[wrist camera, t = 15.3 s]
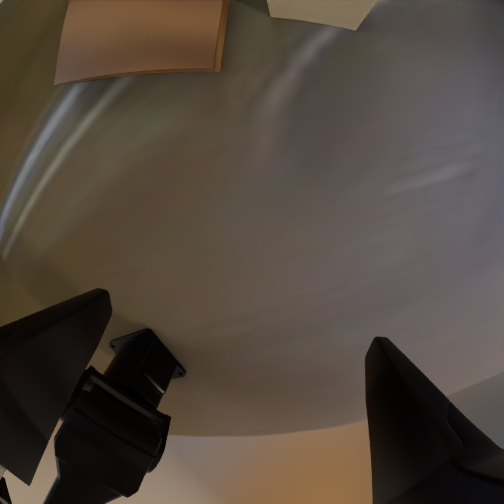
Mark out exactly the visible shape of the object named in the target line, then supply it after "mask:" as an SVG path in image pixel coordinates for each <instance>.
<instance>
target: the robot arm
mask: <svg viewBox="0 0 504 504" xmlns="http://www.w3.org/2000/svg"><path fill="white" fill-rule="evenodd" d="M111 315H112V305H111V300H110V295H109V292H108V291H107V290H104V289H100V288H96V289H94V290H91V291H89V292H86V293H84V294H81V295H79V296H76V297H74V298H71V299H68V300H66V301H63V302H61V303H58V304H56V305H53V306H51V307H48V308H46V309H43V310H41V311H39V312H36V313H34V314H31V315H29V316H26V317H24V318H21V319H19V320H18V321H17V320H16V321H14V322H12V323H9V324H7V325H4V326H2V327H0V504H12V503H11V499H10V496H9V492H8V489H7V485H6V481H5V478H4V477H2V476H3V474H4V472H5V471H6V469H7V470H9V471H10V472H11V473H12V474H14V475H15V476H16V477H18V478H19V479H20V480H21V481H23V482H24V483H26V484H27V485H28V486H30V484H31V482H32V480H33V477H34V475H35V472H36V470H37V467H38V465H39V463H40V460H41V458H42V455H43V453H44V451H45V449H46V447H47V444H48V442H49V441H48V440H50V437H51V435H52V433H53V431H54V429H55V427H56V425H57V422H58V420H61V421H62V422H63V423H62V425H61V427H60V428H59V430H58V432H57V434H56V435H55V438H54V448H55V456H56V465H57V473H58V475H57V477H56V479H55V481H54V483H53V485H52V486H51V488H50V490H49V492H48V494H47V496H46V498H45V500H44V502H43V504H106V503H108V502H110V501H112V500H114V499H117V498H119V497H121V496H124V497H127V498H128V497H130V496H131V495H133V494H135V493H136V492H137V491H138V490H139V487H140V485H141V483H142V480H143V478H144V476H145V474H146V473H149V472H151V471H152V470H153V469H154V468H155V467H156V466H157V464H158V463H159V461H160V459H161V457H162V455H163V452H164V449H165V445H166V440H167V435H168V430H169V426H170V421H171V417H170V416H168V415H167V414H166V415H165V414H163V413H161V412H160V411H158V410H157V408H158V405H159V403H160V401H161V398H162V396H163V394H165V393H166V390H167V388H168V386H169V383H170V381H171V379H175V378H180V377H184V376H185V374H186V371H185V369H184V368H183V367H182V366H181V365H180V364H179V363H178V362H177V360H176V359H175V358H174V357H173V356H172V355H171V353H170V352H169V351H168V350H167V349H166V348H165V346H164V345H163V344H162V343H161V342H160V340H159V339H158V338H157V337H156V336H155V334H154V333H153V332H152V331H151V330H150V329H147V328H146V329H143V330H140V331H137V332H134V333H131V334H129V335H126V336H123V337H120V338H117V339H114V340H111V341H110V343H109V346H110V347H111V349H112V350H113V351H114V352H115V353H116V355H115V357H114V358H113V360H112V361H111V363H110V364H109V366H108V368H107V369H106V371H105V372H104V374H103V375H102V374H101V373H99V372H98V371H97V370H95V368H94V367H93V366H91V365H90V367H89V368H88V369H86V370H85V368H86V367H87V365H88V363H89V361H90V359H91V358H92V356H93V354H94V352H95V350H96V348H97V346H98V344H99V342H100V340H101V337H102V335H103V333H104V331H105V329H106V326H107V324H108V322H109V320H110V318H111ZM365 385H366V408H367V417H368V426H369V439H370V452H371V468H372V493H373V504H504V449H502V448H500V447H499V446H498V445H496V444H495V443H494V442H493V441H492V440H491V439H490V438H488V437H487V436H486V435H485V434H484V433H483V432H482V431H481V430H479V429H478V428H477V427H476V426H475V425H474V424H473V423H472V422H471V421H470V420H468V419H467V418H466V417H465V416H464V415H463V414H462V413H461V412H460V411H459V410H458V409H457V408H456V407H455V406H454V405H453V404H452V402H450V401H449V399H448V398H447V397H446V396H445V395H444V394H443V393H442V392H441V391H440V390H439V389H438V388H437V387H436V386H435V385H434V384H433V383H432V382H431V381H430V380H429V379H428V378H427V377H426V376H425V375H424V374H423V373H422V372H421V371H420V370H419V369H418V368H417V367H416V366H415V365H414V364H413V363H412V362H411V361H410V360H409V359H408V358H407V357H406V356H405V355H404V354H403V353H402V352H401V351H400V350H399V349H398V348H397V347H396V346H395V345H394V344H393V343H392V342H391V341H390V340H389V339H388V338H386V337H375V338H374V339H373V341H372V343H371V345H370V347H369V350H368V352H367V354H366V357H365Z"/></svg>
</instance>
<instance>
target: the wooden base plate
mask: <svg viewBox="0 0 504 504" xmlns="http://www.w3.org/2000/svg"><path fill="white" fill-rule="evenodd" d="M229 5H230V0H69V4H68V8H67V12H66V16H65V20H64V25H63V30H62V35H61V40H60V45H59V51H58V58H57V65H56V73H55V82H54V85H60V84H65V83H79V82H84V81H90V80H96V79H103V78H110V77H118V76H127V75H137V74H149V73H166V72H220V68H221V60H222V53H223V45H224V38H225V31H226V25H227V18H228V12H229Z"/></svg>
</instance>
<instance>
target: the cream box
mask: <svg viewBox="0 0 504 504" xmlns="http://www.w3.org/2000/svg"><path fill="white" fill-rule="evenodd" d="M377 1H378V0H267V3H268V7H269V12H270V16H271V17H276V18H286V19H294V20H301V21H308V22H315V23H320V24H326V25H331V26H336V27H341V28H345V29H350V30H354V31H356V29H357V28H358V27H359V25H360V24H361V23H362V21H363V20H364V19H365V17H366V16H367V14H368V13H369V12H370V10H371V9H372V8H373V6H374V5H375V4H376V2H377Z"/></svg>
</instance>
